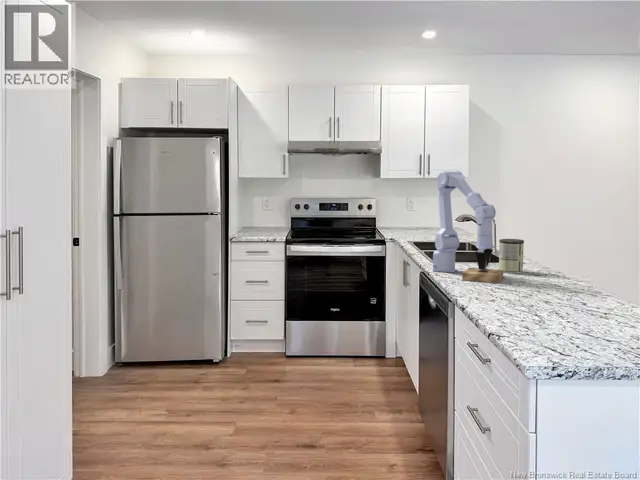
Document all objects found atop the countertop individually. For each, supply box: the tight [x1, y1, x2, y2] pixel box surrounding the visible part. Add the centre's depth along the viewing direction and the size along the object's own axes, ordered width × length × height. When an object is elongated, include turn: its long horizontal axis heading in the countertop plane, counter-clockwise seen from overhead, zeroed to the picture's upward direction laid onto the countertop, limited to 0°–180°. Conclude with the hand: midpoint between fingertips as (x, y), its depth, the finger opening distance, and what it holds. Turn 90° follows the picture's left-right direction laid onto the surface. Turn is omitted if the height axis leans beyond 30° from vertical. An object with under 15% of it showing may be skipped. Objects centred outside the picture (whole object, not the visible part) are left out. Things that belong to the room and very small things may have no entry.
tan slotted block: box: [461, 267, 504, 284], centre depth 229 cm, size 14×14×3 cm
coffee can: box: [498, 238, 525, 275], centre depth 245 cm, size 10×10×14 cm
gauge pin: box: [480, 260, 488, 273], centre depth 229 cm, size 2×2×9 cm
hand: (483, 267), depth 229 cm, fingers open, 7 cm apart
